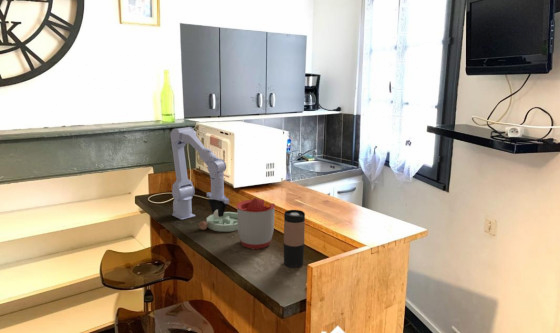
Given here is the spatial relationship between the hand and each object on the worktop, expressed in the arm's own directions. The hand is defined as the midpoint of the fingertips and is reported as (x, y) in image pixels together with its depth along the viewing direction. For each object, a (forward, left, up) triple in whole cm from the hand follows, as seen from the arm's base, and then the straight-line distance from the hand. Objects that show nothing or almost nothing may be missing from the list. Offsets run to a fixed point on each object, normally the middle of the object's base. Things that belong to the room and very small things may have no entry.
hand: (218, 215), depth 186 cm
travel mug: (+49, -1, -6) cm, 50 cm away
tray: (0, +5, -6) cm, 7 cm away
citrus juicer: (+26, +1, -6) cm, 27 cm away
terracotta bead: (-2, -7, -6) cm, 9 cm away
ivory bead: (0, 0, -1) cm, 1 cm away
